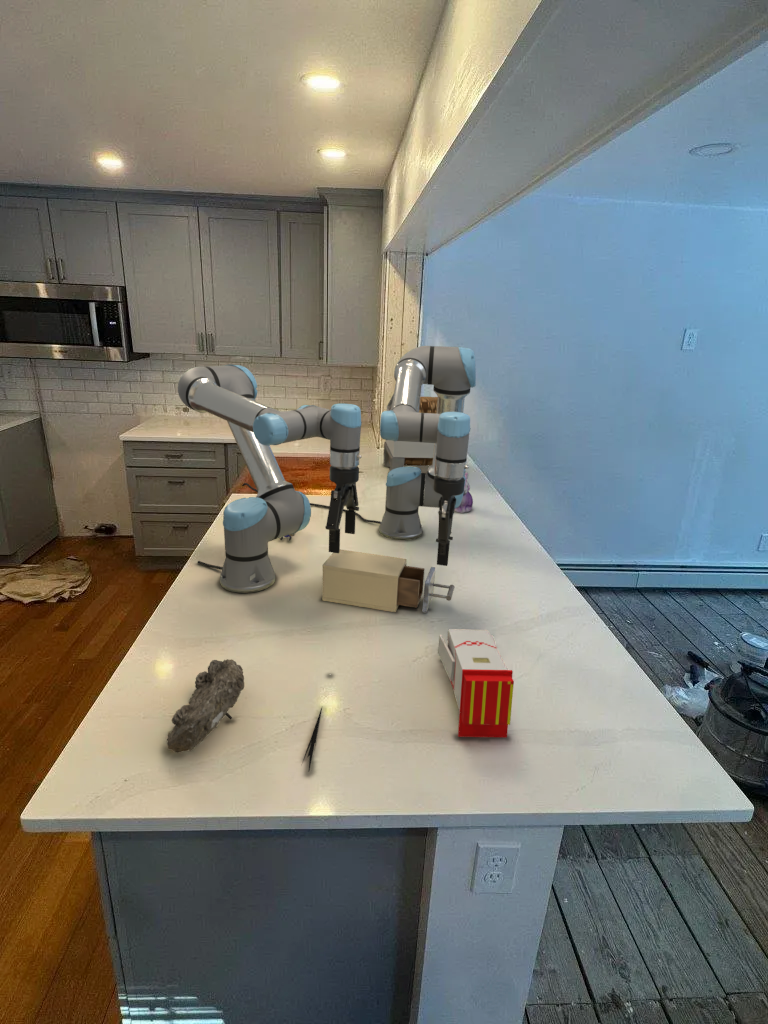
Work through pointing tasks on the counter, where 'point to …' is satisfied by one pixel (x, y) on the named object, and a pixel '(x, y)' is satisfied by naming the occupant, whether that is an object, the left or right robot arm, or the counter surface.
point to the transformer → (410, 443)
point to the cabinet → (362, 579)
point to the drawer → (418, 587)
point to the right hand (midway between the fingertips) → (442, 564)
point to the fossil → (206, 705)
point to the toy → (478, 682)
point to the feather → (313, 740)
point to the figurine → (465, 499)
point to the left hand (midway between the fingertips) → (342, 542)
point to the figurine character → (288, 536)
